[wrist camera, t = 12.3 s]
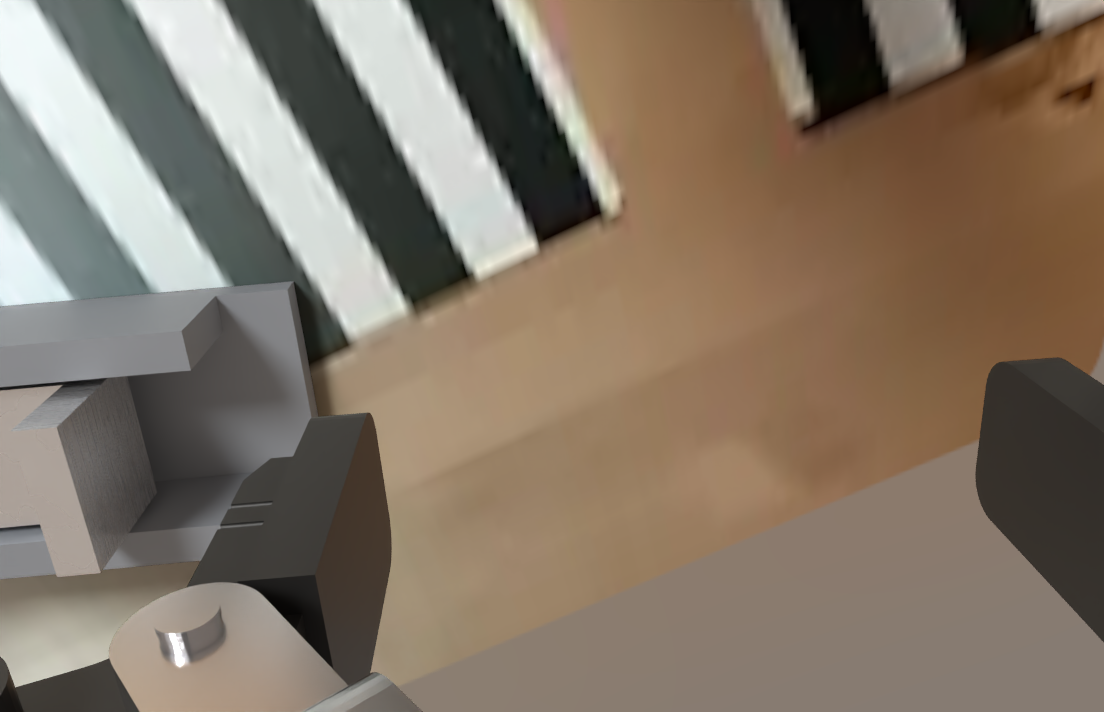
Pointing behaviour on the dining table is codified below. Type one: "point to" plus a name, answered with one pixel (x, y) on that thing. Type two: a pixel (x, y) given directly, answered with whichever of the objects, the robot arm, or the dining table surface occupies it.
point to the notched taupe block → (74, 468)
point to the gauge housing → (172, 400)
